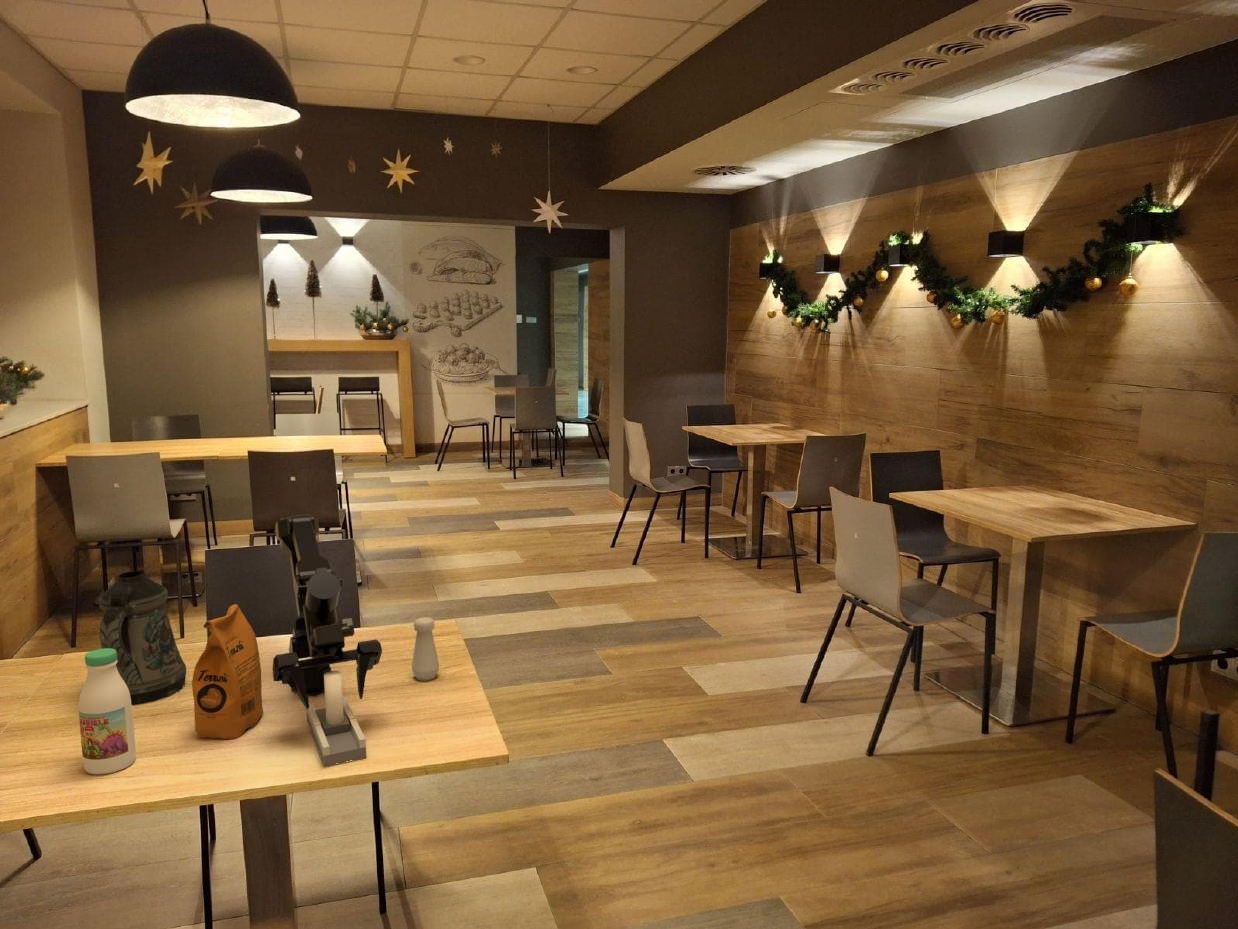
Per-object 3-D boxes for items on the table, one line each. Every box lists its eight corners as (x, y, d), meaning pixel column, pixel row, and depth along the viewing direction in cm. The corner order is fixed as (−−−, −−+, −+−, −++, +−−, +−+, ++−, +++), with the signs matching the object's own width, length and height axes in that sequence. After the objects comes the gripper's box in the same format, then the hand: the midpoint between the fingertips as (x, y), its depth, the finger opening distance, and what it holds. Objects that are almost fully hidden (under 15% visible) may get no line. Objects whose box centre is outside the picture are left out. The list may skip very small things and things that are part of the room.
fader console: (307, 721, 162) (306, 703, 162) (345, 714, 166) (344, 696, 165) (324, 767, 145) (323, 746, 144) (366, 758, 148) (365, 737, 148)
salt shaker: (432, 683, 181) (430, 624, 179) (407, 681, 182) (405, 622, 180) (443, 673, 186) (442, 615, 185) (419, 671, 188) (417, 614, 186)
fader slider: (320, 727, 155) (318, 672, 154) (345, 722, 157) (343, 668, 156) (324, 736, 152) (321, 680, 150) (350, 731, 154) (347, 675, 152)
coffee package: (185, 740, 155) (176, 623, 152) (222, 711, 167) (215, 602, 164) (238, 742, 154) (230, 624, 151) (271, 713, 166) (265, 603, 163)
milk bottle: (98, 755, 149) (88, 644, 146) (144, 753, 150) (135, 643, 147) (74, 777, 142) (63, 661, 139) (123, 775, 142) (113, 659, 140)
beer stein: (182, 669, 189) (174, 559, 185) (194, 699, 172) (185, 579, 169) (94, 685, 180) (84, 570, 176) (98, 719, 164) (87, 592, 160)
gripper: (270, 612, 151) (281, 694, 143) (377, 597, 160) (393, 674, 151) (268, 641, 159) (278, 720, 151) (370, 626, 168) (385, 700, 159)
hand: (334, 703), depth 153 cm, fingers open, 9 cm apart
